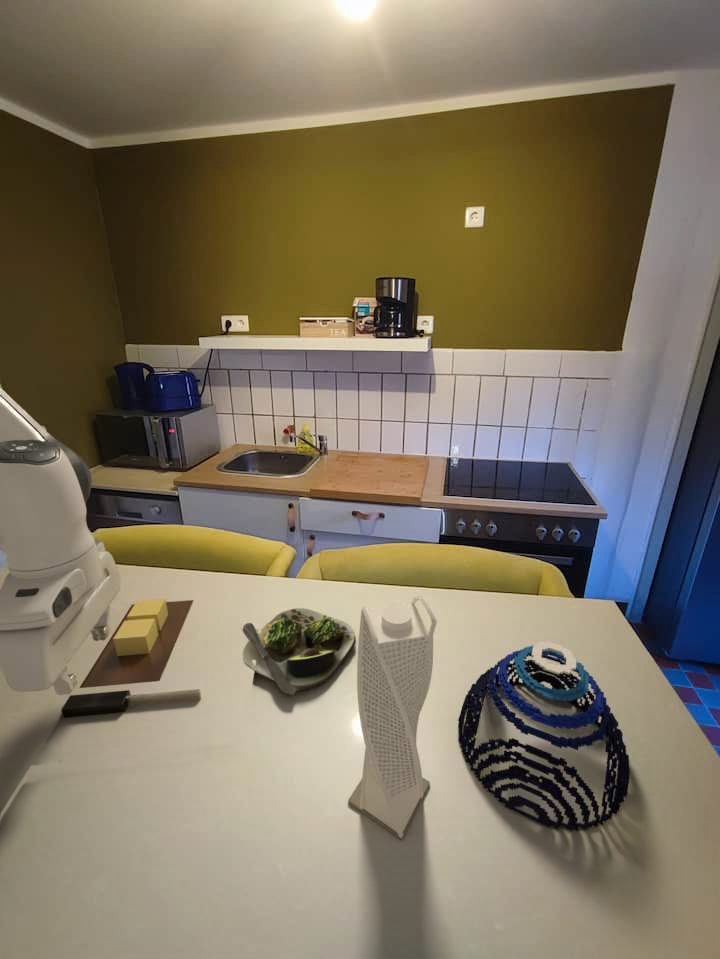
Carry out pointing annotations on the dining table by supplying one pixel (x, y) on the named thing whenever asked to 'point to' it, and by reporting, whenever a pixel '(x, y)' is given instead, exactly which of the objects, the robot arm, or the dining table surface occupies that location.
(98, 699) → the knife
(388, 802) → the skyscraper
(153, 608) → the butter slice
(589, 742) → the decorative bowl
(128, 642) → the butter block
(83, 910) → the dining table surface
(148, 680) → the cutting board
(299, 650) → the salad plate
